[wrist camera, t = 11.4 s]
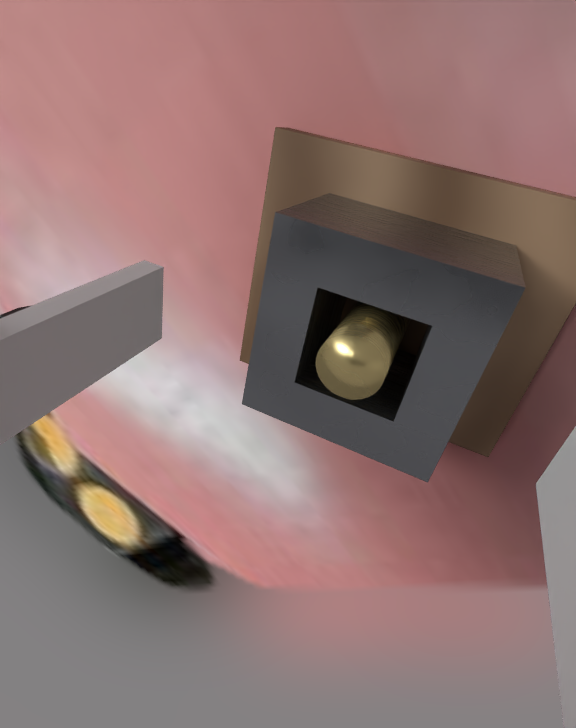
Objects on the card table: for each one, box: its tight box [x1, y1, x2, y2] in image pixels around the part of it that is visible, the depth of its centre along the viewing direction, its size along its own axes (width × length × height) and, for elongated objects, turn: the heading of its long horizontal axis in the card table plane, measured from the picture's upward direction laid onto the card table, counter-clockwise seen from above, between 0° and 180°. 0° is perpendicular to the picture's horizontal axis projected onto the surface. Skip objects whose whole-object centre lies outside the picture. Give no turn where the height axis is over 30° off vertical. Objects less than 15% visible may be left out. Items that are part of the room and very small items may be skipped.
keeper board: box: [240, 127, 576, 457], centre depth 21 cm, size 14×12×2 cm
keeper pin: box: [316, 301, 411, 400], centre depth 18 cm, size 2×2×7 cm
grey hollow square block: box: [242, 193, 526, 482], centre depth 18 cm, size 8×8×6 cm
